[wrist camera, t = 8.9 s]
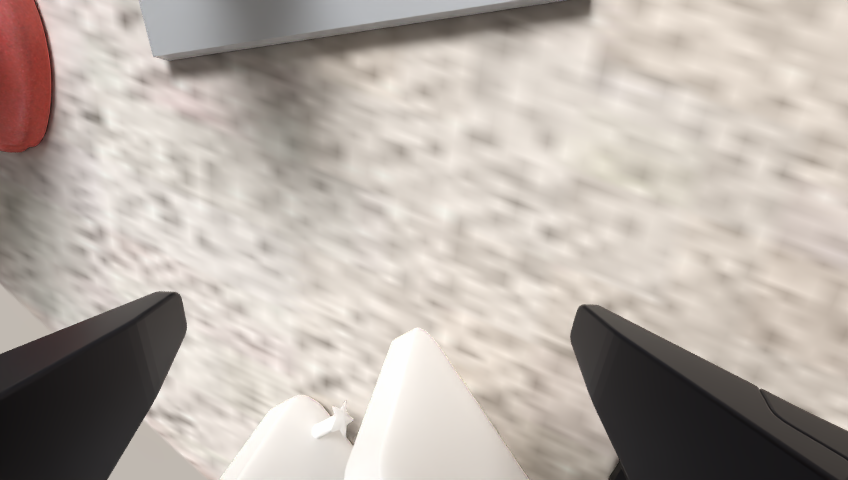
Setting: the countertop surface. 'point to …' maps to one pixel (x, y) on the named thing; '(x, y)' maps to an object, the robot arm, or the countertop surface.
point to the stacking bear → (23, 76)
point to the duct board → (287, 20)
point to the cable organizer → (384, 429)
